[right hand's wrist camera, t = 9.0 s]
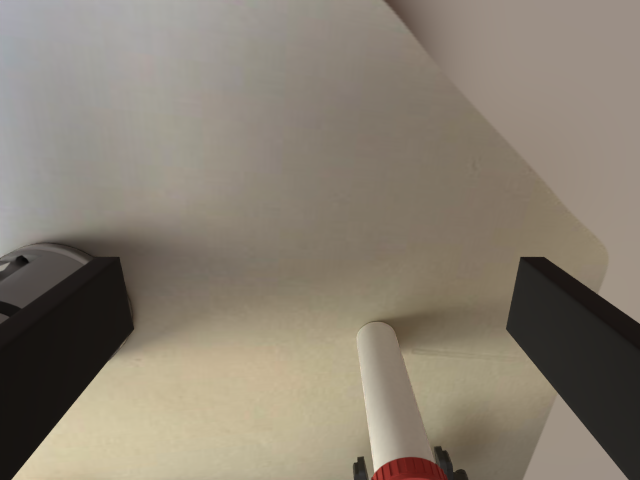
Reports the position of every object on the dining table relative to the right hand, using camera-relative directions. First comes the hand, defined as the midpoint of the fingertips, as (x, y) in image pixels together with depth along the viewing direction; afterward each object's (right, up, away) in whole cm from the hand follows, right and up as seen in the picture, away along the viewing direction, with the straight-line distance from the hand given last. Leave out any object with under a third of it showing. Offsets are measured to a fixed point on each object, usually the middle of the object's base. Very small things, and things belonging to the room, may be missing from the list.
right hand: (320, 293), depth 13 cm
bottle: (+6, -10, +31) cm, 33 cm away
